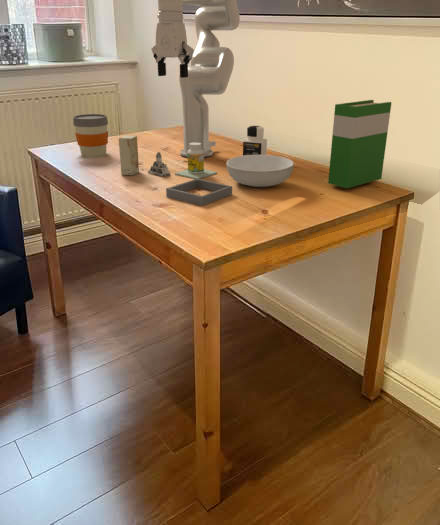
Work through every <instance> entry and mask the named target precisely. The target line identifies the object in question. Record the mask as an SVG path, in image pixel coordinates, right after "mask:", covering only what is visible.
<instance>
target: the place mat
mask: <svg viewBox="0 0 440 525" xmlns="http://www.w3.org/2000/svg"><path fill="white" fill-rule="evenodd" d="M216 174H218V172H217V171H215V170H214V171H213V170H208V169H204V172H203V173H201V174H190V173H189V172H188V169H184V170H181V171H179V172H178V171H177V172H175V173H174V175H175V176H180V177H184V178H188V179H191V180H194V179H201V180H202V179H203V178H207V177H211V176H213V175H216Z"/></svg>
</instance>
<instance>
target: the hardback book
mask: <svg viewBox="0 0 440 525" xmlns="http://www.w3.org/2000/svg"><path fill="white" fill-rule="evenodd" d="M374 101H375V100H374V99H368V100H367V99H366V100H359V101H353V102H344V103H336V104H335V105H334V106H335V107H334V113H333V114H334V115H333V126H332V137H331V148H330V158H329V159H330V161H329V170H328V171H329V172H328V179H327V180H328V181H327V184H329V185H334V186H337V187H340V188H344V189H350V188H354V187H357V186H360V185H364V184H367V183H368V184H369V183H371V182H375V181H378V180H381V179H382V177H383V170H384V169H383V168H384V163H385V161H384V160H385V154H386V146H387V139H388V130H389V124H390V118H391V116H390V115H391V109H392V108H391V107H392V101H385V102H374Z"/></svg>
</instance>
